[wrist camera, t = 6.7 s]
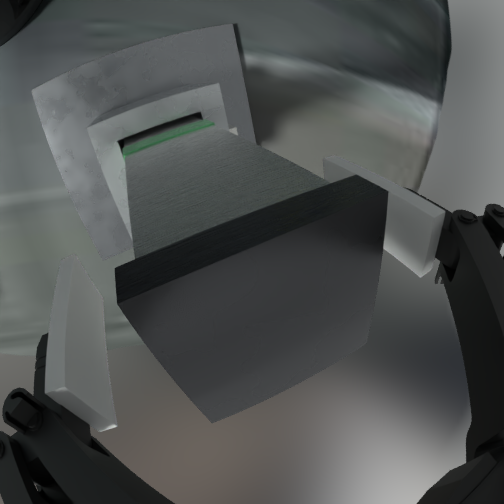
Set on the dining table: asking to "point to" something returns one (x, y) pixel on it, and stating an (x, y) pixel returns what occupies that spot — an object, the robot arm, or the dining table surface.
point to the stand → (136, 116)
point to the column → (244, 263)
